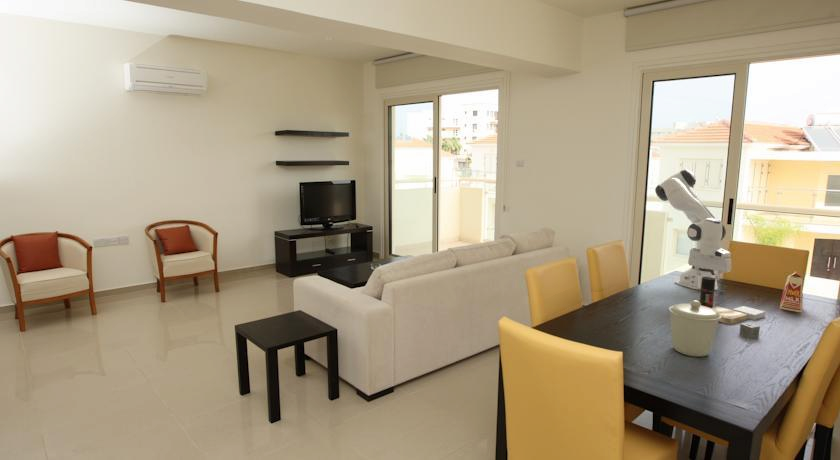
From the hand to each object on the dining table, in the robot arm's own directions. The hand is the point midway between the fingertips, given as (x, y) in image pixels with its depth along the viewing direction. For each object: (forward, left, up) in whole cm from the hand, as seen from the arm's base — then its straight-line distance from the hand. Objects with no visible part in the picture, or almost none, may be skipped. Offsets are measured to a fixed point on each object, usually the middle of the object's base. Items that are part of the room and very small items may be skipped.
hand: (707, 277), depth 253 cm
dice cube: (+33, -24, -16) cm, 44 cm away
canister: (+31, -63, -16) cm, 72 cm away
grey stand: (+18, +5, -15) cm, 25 cm away
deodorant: (0, 0, -16) cm, 16 cm away
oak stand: (+14, -9, -15) cm, 23 cm away
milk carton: (+23, +36, -16) cm, 46 cm away
